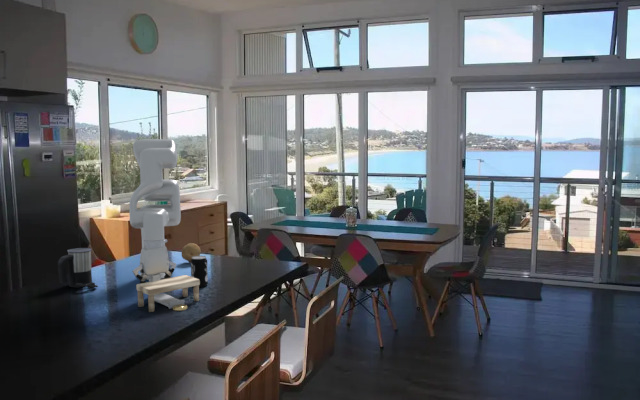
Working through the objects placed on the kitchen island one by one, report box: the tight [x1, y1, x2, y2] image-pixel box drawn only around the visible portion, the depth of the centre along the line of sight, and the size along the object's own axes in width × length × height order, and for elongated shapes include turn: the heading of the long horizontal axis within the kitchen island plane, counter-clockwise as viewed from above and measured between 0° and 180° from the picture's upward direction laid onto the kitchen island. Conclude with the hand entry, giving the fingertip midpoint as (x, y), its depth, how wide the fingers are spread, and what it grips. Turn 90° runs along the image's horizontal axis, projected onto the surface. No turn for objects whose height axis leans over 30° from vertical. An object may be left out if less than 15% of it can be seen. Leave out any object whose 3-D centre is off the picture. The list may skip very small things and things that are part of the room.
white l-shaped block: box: [148, 274, 186, 310], centre depth 200 cm, size 18×6×9 cm, turn 44°
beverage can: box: [190, 255, 209, 289], centre depth 221 cm, size 7×7×12 cm
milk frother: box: [57, 247, 99, 290], centre depth 219 cm, size 14×16×15 cm
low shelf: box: [135, 274, 200, 313], centre depth 197 cm, size 10×20×8 cm, turn 135°
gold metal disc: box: [172, 304, 188, 312], centre depth 192 cm, size 5×5×1 cm
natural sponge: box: [181, 242, 202, 264], centre depth 261 cm, size 9×9×10 cm
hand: (155, 288), depth 205 cm, fingers open, 9 cm apart
